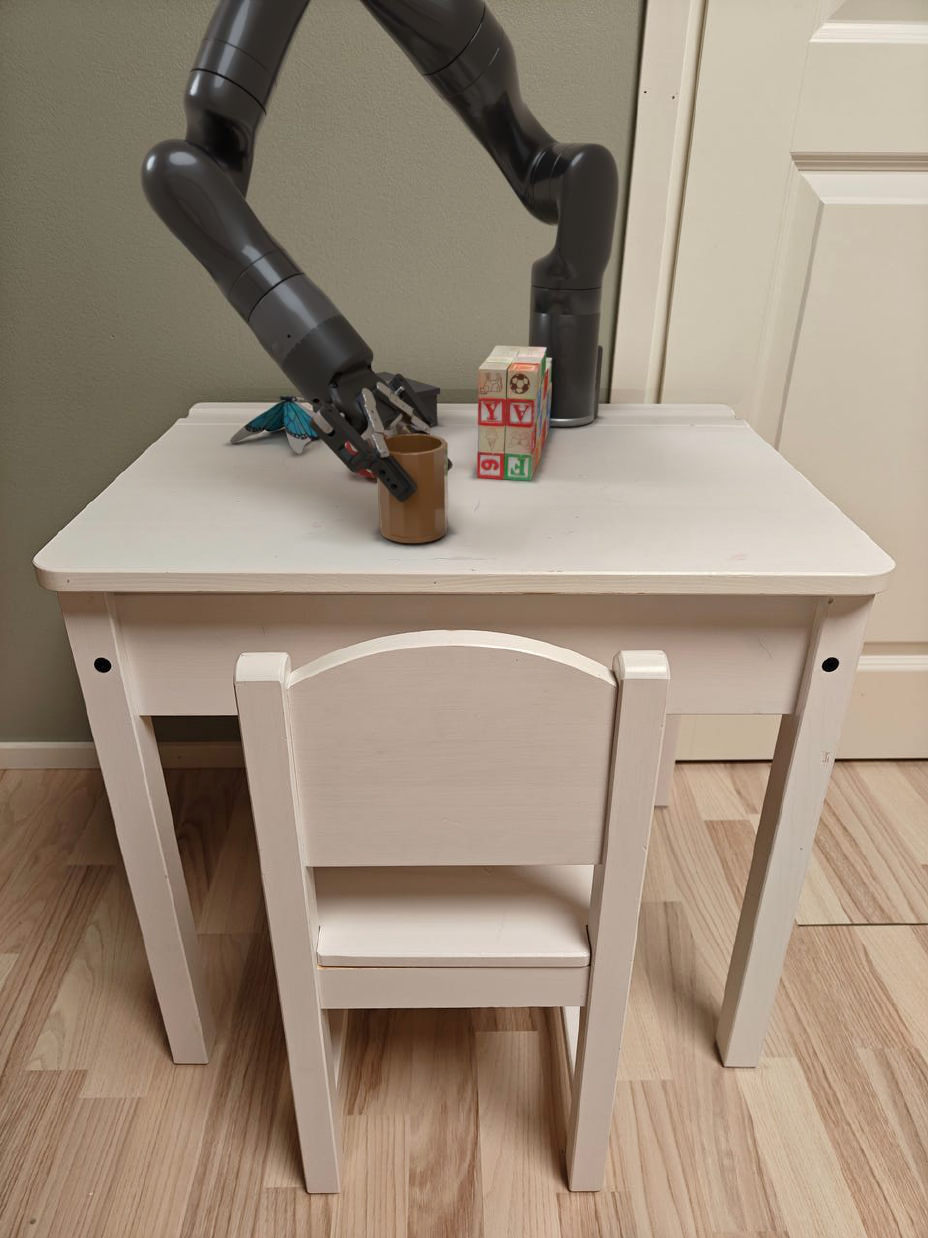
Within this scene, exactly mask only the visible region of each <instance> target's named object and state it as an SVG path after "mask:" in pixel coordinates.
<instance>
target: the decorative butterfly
mask: <svg viewBox="0 0 928 1238" xmlns="http://www.w3.org/2000/svg"><path fill="white" fill-rule="evenodd" d="M261 397H262V398H265V396H261ZM279 400H280V401H279V402H278V403H276V404H275V405H273V406H272V407H269V408H268V409H267V410H266V411H264V412H262V413H260V414H259V415H257V416H256V417H255V418H253V419H252V420H250V421H249V422H248V423H246V424H245V425H244V426H243V427H242V428H239V430H238V431H237V432H235V433H234V434H233V435H232V436H231V438H230V439H229V443H230V444H235V443H237V442H240V441H242V440H244V439H246V438H249V437H252V436H255V435H258V434H261V433H262V432H264V431H265V432H268V433H271V432H272V433H273V432H277V431H279V430H282V429H283V428H284V429H285V433H286V437H287V441H288V444H289V446H290V448H291V449H292V451H293V452H294V453H295V454H298V455H300V454H302V453H303V450H304V447H305V445H306V444H308V443H310V442H311V441H312V439H315V440H321V438H320V437H319V436H318V435H317V434H316V433H315V432H314V431H313V430H312V429H311V427H310V426H309V421H310V420H311V419H312V417H313V416H314V415H315V414H316V413H315V412H314V411H313V409H309V408H307V407H305V406H304V405H303V404H301V403H300V402H302V401H306V399H305V398H304V397H299V396H293V395H285V396H284V395H280V396H279Z"/></svg>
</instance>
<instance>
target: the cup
mask: <svg viewBox="0 0 928 1238" xmlns="http://www.w3.org/2000/svg"><path fill="white" fill-rule="evenodd" d="M384 441H385V443H386V446H387V448H388V450H389V456H388V458H389V457H391V456H392V455H393V457H394V458H395V459H396V460H397V461H398V463H399V464H400V465H401V466H402V467H403V468H404V470H405V471H406V472H407V473H408V474H409V476H410V477H411V478H412V479H413V480H414V482H415V483H416V484H417V487H418V489H417V491H416V492H415V493H414V494H413V495H412V496H410V497H409V498H408V499H407V500H405V501H404V502H400V501H398V500H397V499H396V497H394V496H393V495H392V494H391V493H390V492H389V490H388V489H387V488H386V487H385V485H384V484H383V483H382V482H381V481H380V480H379V478H378V477H377V479H376V480H377V481H376V483H377V501H378V521H379V530H380V534H381V535H382V536H383V537H384V538H386V539H388V540H389V541H393V542H397V543H404V544H422V543H427V542H432V541H436V540H439V539H440V538H442V537H443V536H445V535H446V534H447V532H448V525H449V471H448V458H449V457H448V456H449V452H448V451H449V450H448V449H449V446H448V445H449V443H448V442H447V441H446V439H445V438H443V437H440V436H437V435H434V434H430V435H429V434H420V433H405V434H397V435H391V436H388V437H385V438H384Z"/></svg>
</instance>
